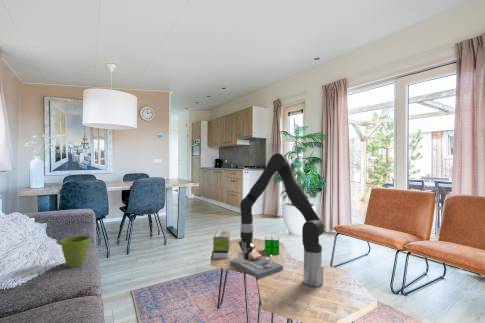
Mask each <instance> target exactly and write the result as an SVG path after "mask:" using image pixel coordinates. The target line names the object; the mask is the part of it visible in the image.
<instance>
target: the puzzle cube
mask: <svg viewBox="0 0 485 323" xmlns="http://www.w3.org/2000/svg"><path fill="white" fill-rule="evenodd" d="M264 254H265V255H280V237H279V236H275V235H274V236H273V235H272V236H271V235H265V236H264Z"/></svg>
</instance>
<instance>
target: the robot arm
mask: <svg viewBox="0 0 485 323" xmlns="http://www.w3.org/2000/svg"><path fill="white" fill-rule="evenodd" d="M276 172H277V173H278V175H279V176H280V178H281V180H282V183H283V187H284V189H285V190H284V191H285V193H286V195H287V197H288V199H289V201H290V203H291V204H292V205H293V206H294V207H295V208H296V209H297V211H299V212H300V214H301V215H302V216H303V219H304V220H305V222H304V223H303V225H302V229H301V234H302V235H301V236H302V239H301V240H302V245H303V283H304V284H305V285H307V286H309V287H315V288H318V287H320V286H322V285H324V265H322V263H323V262H322V261H323V260H322V259H323V258H322V257H323V256H322V255H323V252H322V251H323V246H322V245H321V244H320V240H319V239H320V238H319V237H321V236H322V235H323V234H324V232H325V226H324V224H323V221H321V219H320V217H319V216H318V214H317V213H316V211H315V210H314V208H313V206H312V204H311V203H310V201H309V199H308V197H307V195H306V193H305V191H304V188H303V187H302V185H301V184H300V182H299V180H298V179H297V177H296V176H295V175H294V173H293V171H292V168H291V165H290V163H289V161H288V159H287V157H286V156H285V155H283V153H279V152H277V153H274V154H272V155H271V157H270V159H269V160H268V163H267V165H266V166H265V168H264V170H262V173H261V174H260V176H259V178H258V179H257V180H256V181H255V182H254V184H253V185H252V187H251V188H250V190H249V192H248V193H247V194H246V195H245V196H244V198H242V199H241V201H240V205H239V206H240V216H241V217H240V234H239V235H240V241H238V246H239V247H240V251H241V250H242V251H243V252H244V259H245V260H248V259H249V253H251V252H252V251H253V249H255V247H256V246H255V245H254V244H253V238H254V224H253V222H254V219H253V212H252V211H253V207H254V204H256V202H257V201H258V199H259V198H260V197H261V196H262V194H263V193H264V191H265V190H266V189H267V187H268V185H269V183H270V181H271V179H272V178H273V175H274V174H275V173H276Z"/></svg>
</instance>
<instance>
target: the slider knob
mask: <svg viewBox="0 0 485 323" xmlns="http://www.w3.org/2000/svg"><path fill="white" fill-rule="evenodd" d="M237 258H238V262H240V263H244V262H246V260H245V259H244V252H243V251H242V250H241V249H240V250H237Z"/></svg>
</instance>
